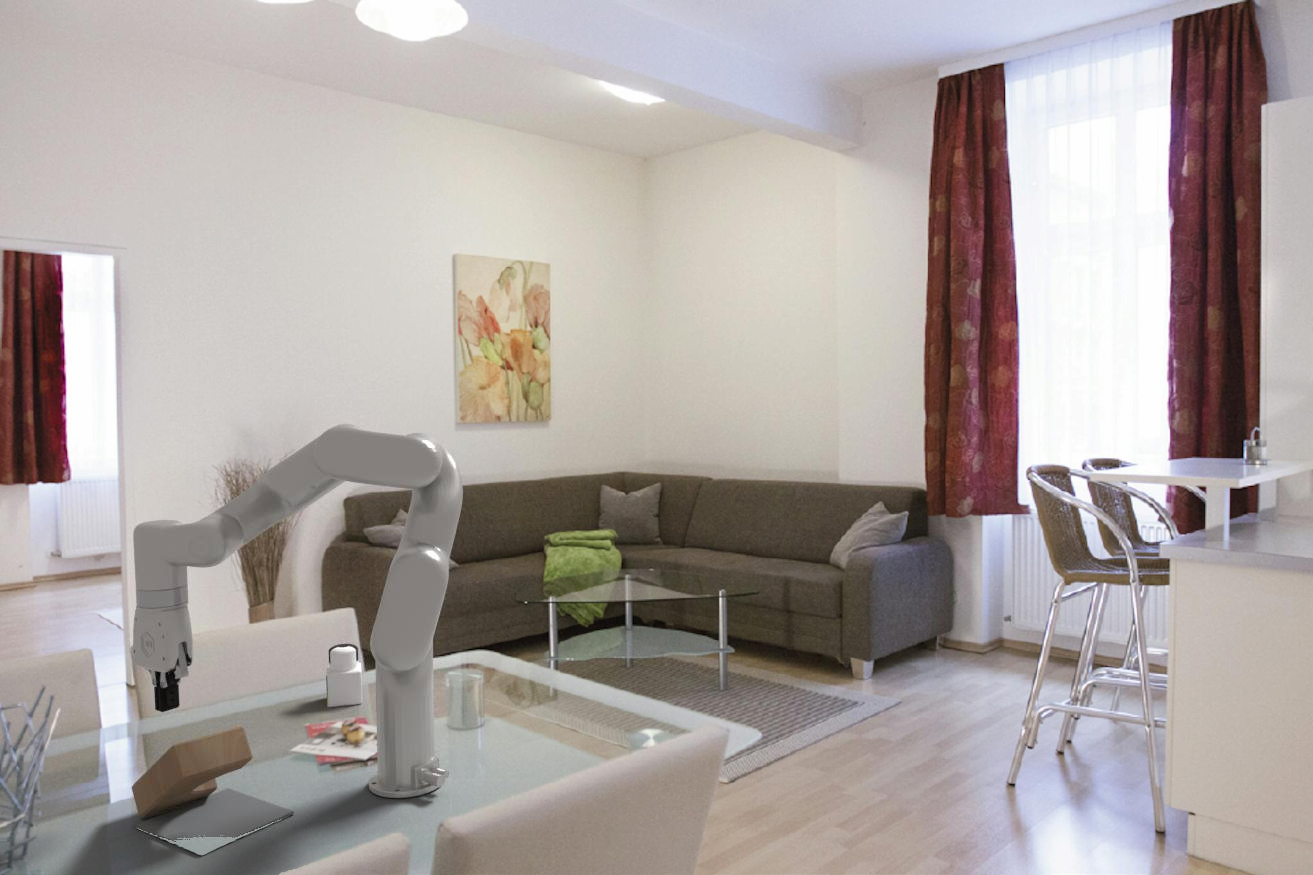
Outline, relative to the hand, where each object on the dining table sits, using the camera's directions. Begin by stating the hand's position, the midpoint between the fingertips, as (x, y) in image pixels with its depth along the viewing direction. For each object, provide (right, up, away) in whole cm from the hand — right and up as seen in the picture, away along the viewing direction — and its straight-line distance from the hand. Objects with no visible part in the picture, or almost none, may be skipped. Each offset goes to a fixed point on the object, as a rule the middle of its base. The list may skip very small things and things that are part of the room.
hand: (167, 708), depth 161 cm
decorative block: (0, -14, +1) cm, 14 cm away
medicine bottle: (+12, -13, +52) cm, 55 cm away
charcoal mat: (+10, -16, -5) cm, 20 cm away
